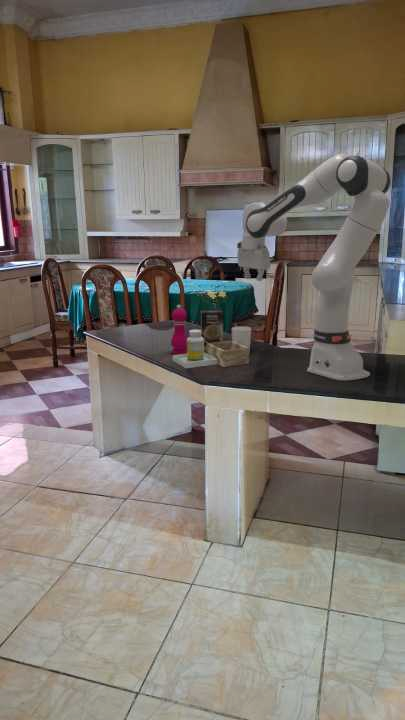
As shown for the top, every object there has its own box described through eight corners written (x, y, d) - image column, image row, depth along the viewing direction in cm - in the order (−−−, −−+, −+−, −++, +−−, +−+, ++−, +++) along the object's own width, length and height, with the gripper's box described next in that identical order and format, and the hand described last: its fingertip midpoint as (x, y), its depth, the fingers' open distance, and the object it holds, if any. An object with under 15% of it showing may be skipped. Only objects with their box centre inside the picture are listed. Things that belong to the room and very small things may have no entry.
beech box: (248, 363, 202) (249, 348, 200) (223, 367, 198) (223, 351, 196) (230, 355, 215) (230, 340, 213) (206, 358, 210) (206, 343, 209)
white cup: (249, 354, 215) (249, 330, 213) (230, 354, 217) (230, 329, 214) (251, 350, 222) (252, 326, 220) (233, 349, 224) (233, 326, 222)
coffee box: (201, 350, 223) (200, 312, 219) (201, 347, 229) (200, 309, 225) (223, 350, 223) (223, 312, 219) (222, 346, 229) (222, 309, 225)
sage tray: (217, 364, 202) (217, 359, 201) (185, 368, 197) (185, 363, 196) (203, 356, 213) (203, 351, 213) (172, 360, 208) (172, 355, 207)
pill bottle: (193, 357, 208) (193, 328, 206) (207, 360, 205) (207, 330, 202) (183, 361, 203) (183, 331, 200) (197, 363, 200) (197, 333, 197)
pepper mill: (188, 355, 216) (187, 306, 211) (170, 355, 216) (169, 306, 211) (189, 351, 223) (188, 303, 218) (171, 351, 223) (170, 303, 218)
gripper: (274, 245, 204) (273, 281, 208) (248, 243, 222) (248, 277, 226) (260, 245, 202) (259, 282, 205) (234, 243, 220) (234, 277, 223)
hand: (253, 279), depth 215 cm, fingers open, 8 cm apart
